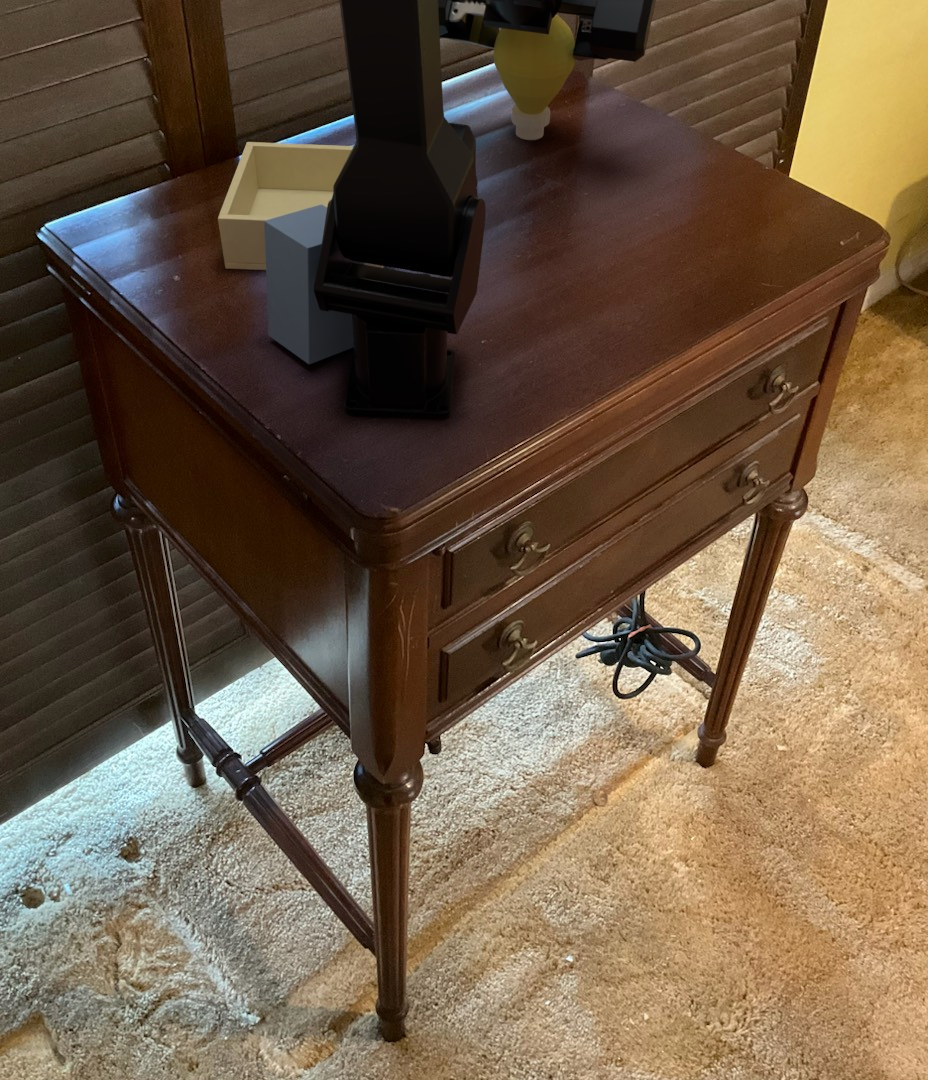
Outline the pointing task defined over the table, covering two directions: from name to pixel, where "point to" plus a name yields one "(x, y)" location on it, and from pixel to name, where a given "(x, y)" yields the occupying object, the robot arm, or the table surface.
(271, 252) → the blue block
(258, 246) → the cream bin
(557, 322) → the table surface
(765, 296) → the table surface
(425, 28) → the robot arm
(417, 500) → the table surface
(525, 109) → the light bulb
